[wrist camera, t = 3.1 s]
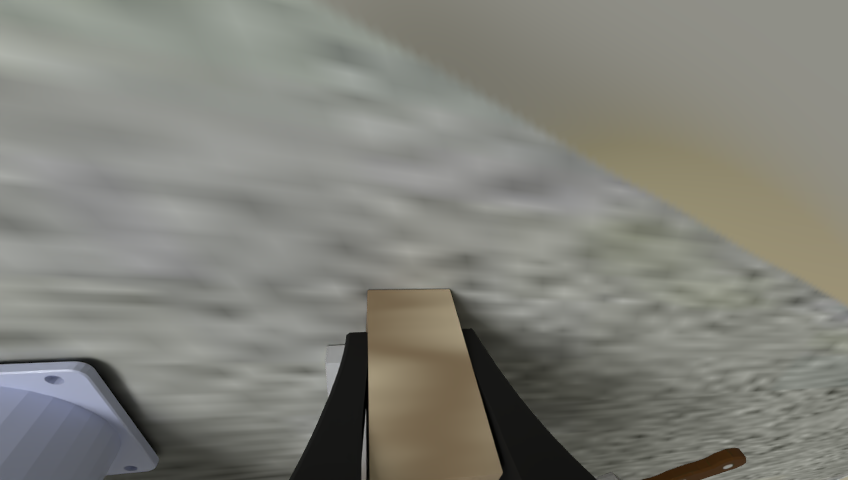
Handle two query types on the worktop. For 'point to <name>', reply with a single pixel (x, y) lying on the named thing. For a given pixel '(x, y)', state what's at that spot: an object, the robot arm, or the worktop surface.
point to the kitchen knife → (698, 467)
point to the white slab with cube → (420, 392)
